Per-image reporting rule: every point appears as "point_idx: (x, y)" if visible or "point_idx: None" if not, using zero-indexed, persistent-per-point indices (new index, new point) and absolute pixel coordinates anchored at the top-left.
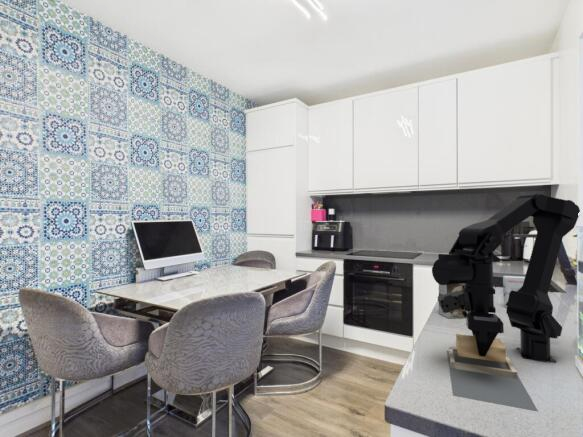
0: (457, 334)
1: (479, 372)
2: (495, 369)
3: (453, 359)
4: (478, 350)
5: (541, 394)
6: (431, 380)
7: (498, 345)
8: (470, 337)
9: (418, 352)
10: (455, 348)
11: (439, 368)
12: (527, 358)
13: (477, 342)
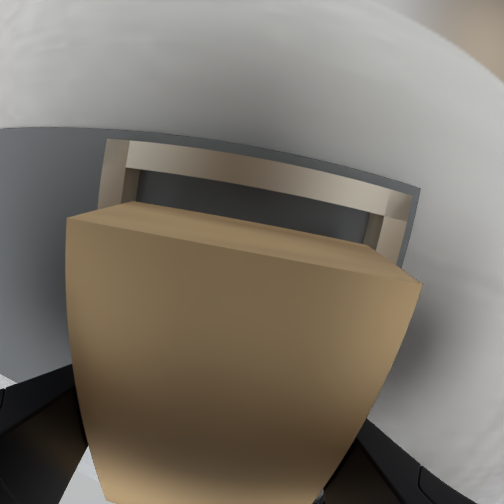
0: (396, 297)
1: None
2: None
3: (163, 164)
4: (68, 365)
5: None
6: (32, 51)
7: (143, 500)
8: (297, 414)
9: (372, 11)
10: (397, 243)
11: (147, 79)
12: (324, 499)
13: (7, 393)
